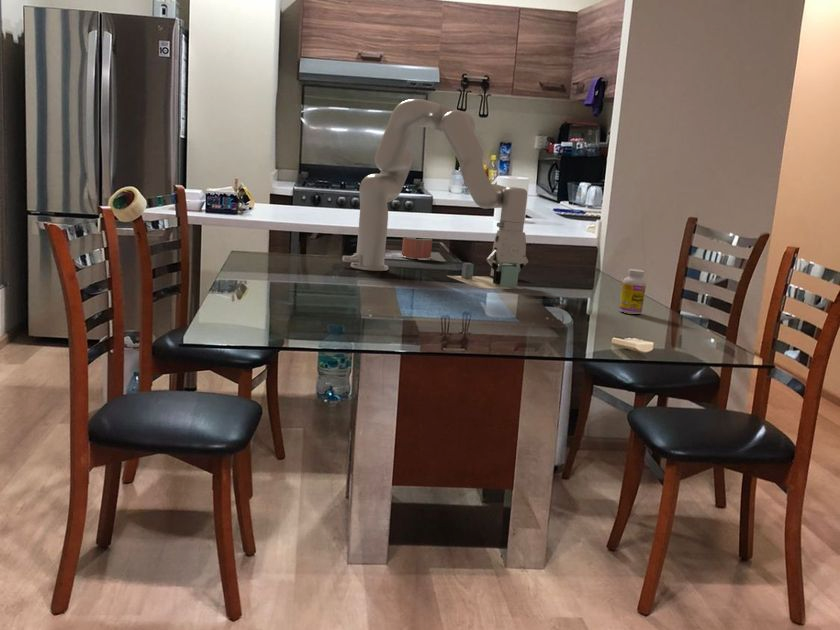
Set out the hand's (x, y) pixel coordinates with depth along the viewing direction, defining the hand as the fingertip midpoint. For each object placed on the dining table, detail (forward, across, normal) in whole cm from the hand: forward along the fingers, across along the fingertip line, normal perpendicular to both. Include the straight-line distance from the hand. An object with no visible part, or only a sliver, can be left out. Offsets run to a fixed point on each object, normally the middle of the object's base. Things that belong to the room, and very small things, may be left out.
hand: (504, 283), depth 280 cm
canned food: (+2, +1, +64) cm, 64 cm away
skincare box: (+2, +10, +19) cm, 22 cm away
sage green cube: (+1, 0, 0) cm, 1 cm away
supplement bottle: (+2, +21, -36) cm, 42 cm away
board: (+2, -4, +6) cm, 7 cm away
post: (+1, -7, +12) cm, 14 cm away
